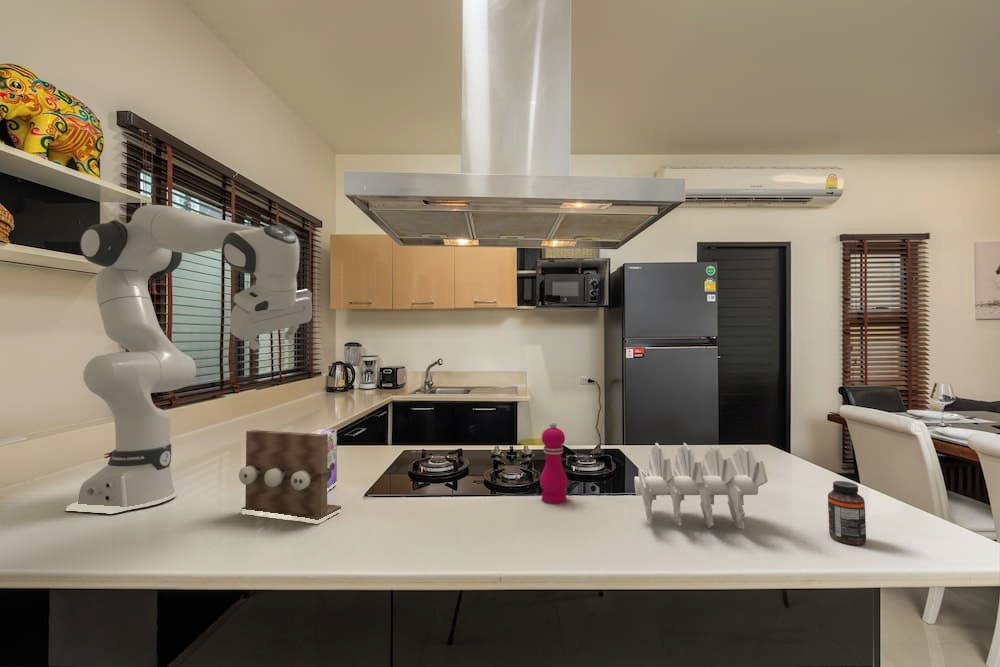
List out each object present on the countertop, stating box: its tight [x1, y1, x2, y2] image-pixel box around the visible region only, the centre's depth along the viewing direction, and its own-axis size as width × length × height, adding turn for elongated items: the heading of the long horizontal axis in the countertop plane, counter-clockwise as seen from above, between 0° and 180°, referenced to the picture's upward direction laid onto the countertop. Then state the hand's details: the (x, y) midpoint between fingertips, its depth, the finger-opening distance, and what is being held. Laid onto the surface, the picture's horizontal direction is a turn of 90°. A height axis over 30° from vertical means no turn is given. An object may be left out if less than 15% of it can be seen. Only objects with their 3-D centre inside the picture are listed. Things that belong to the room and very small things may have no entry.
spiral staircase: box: [633, 442, 769, 530], centre depth 100 cm, size 18×18×25 cm
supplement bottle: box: [827, 480, 867, 546], centre depth 91 cm, size 6×6×11 cm
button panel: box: [241, 429, 342, 520], centre depth 108 cm, size 22×8×20 cm, turn 72°
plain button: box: [264, 468, 286, 487], centre depth 104 cm, size 4×6×4 cm
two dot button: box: [291, 470, 312, 490], centre depth 102 cm, size 4×6×4 cm
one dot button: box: [238, 466, 261, 486], centre depth 107 cm, size 4×6×4 cm
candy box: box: [309, 428, 338, 488], centre depth 123 cm, size 14×6×16 cm, turn 179°
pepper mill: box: [539, 421, 569, 504], centre depth 116 cm, size 7×7×20 cm
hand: (272, 343), depth 114 cm, fingers open, 8 cm apart
